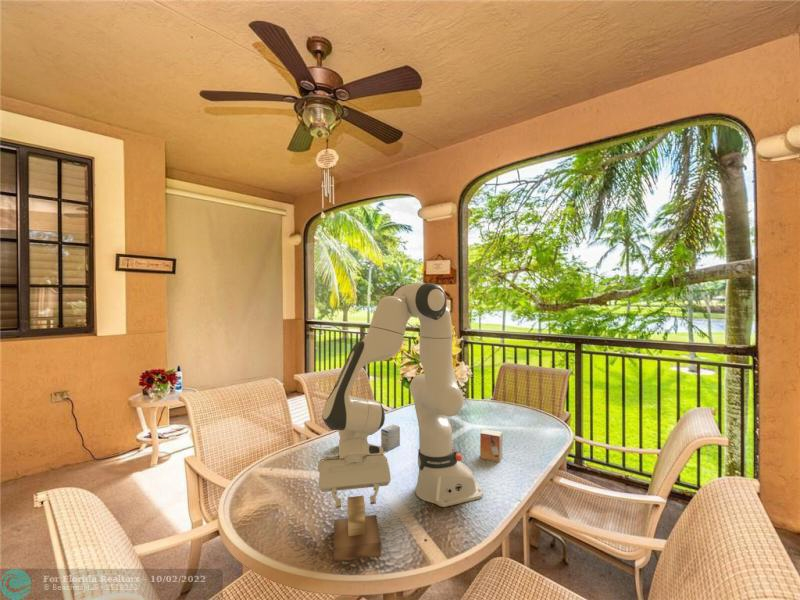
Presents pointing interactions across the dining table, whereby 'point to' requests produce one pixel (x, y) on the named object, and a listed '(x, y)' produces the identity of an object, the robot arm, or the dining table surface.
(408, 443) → the dining table surface
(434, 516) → the dining table surface
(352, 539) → the walnut base block
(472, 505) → the dining table surface
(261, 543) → the dining table surface
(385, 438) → the medicine box
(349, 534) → the maple block
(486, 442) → the small box
